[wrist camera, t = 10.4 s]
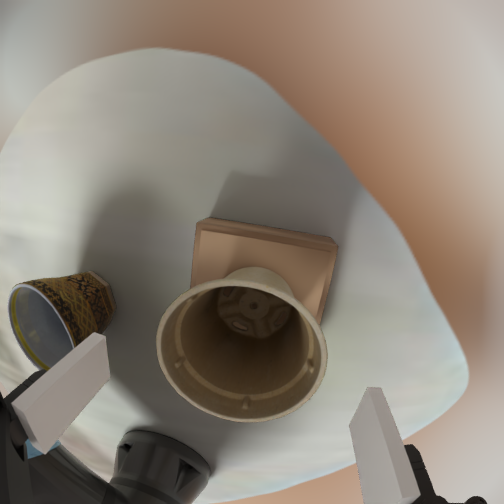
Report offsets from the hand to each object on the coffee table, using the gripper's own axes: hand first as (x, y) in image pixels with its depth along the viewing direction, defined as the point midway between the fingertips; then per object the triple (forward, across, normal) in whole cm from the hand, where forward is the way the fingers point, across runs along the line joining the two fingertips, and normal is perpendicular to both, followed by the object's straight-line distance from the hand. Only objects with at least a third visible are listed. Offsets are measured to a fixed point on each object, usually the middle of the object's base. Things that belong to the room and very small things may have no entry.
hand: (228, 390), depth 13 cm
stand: (+15, 0, 0) cm, 15 cm away
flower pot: (+11, 0, 0) cm, 11 cm away
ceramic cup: (+15, +18, +7) cm, 24 cm away
